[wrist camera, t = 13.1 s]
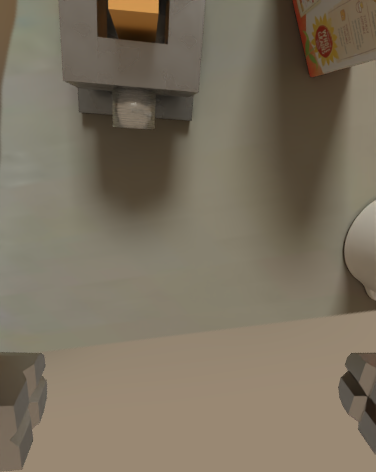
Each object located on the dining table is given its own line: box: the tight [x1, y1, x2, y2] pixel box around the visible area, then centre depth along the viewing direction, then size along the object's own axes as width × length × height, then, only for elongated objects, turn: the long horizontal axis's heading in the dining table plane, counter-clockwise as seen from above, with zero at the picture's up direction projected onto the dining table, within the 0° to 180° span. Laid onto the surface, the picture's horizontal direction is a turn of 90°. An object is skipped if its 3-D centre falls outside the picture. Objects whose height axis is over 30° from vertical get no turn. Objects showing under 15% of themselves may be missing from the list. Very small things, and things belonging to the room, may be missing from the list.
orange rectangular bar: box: [108, 0, 159, 43], centre depth 25 cm, size 3×4×14 cm
